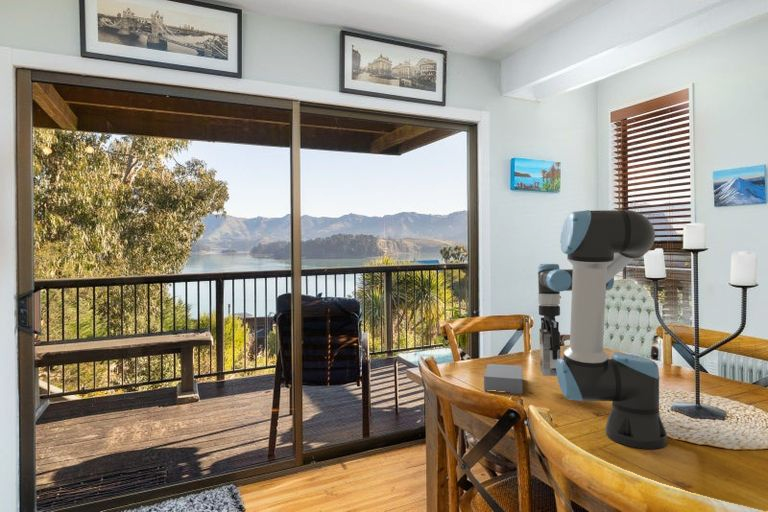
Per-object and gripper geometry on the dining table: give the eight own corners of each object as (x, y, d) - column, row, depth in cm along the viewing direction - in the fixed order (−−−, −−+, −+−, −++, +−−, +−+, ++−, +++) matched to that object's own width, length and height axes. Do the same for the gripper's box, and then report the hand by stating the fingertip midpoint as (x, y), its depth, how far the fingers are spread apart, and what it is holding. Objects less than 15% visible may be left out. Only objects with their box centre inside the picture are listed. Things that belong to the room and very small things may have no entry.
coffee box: (539, 370, 172) (538, 328, 173) (557, 370, 171) (556, 328, 171) (543, 376, 163) (542, 331, 164) (561, 376, 162) (560, 332, 162)
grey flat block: (522, 395, 167) (522, 379, 167) (484, 392, 171) (484, 376, 171) (522, 380, 186) (522, 365, 186) (487, 377, 191) (487, 363, 190)
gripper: (569, 307, 156) (570, 372, 156) (550, 302, 178) (551, 358, 178) (547, 307, 157) (548, 372, 157) (531, 302, 179) (532, 358, 179)
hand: (550, 364), depth 167 cm, fingers closed on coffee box, 9 cm apart
